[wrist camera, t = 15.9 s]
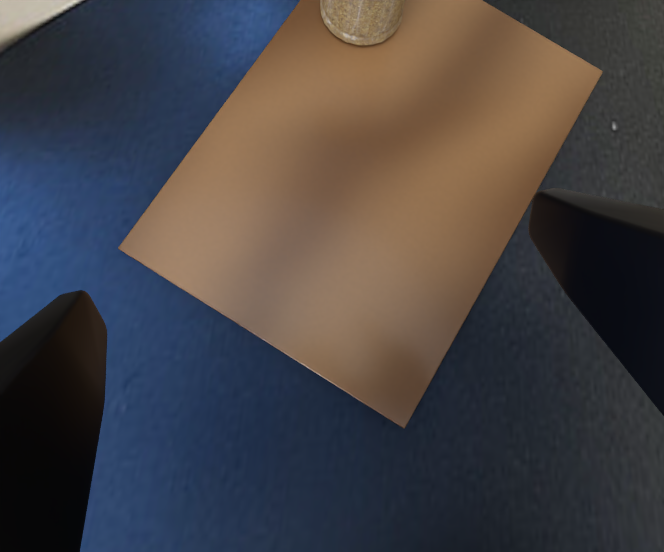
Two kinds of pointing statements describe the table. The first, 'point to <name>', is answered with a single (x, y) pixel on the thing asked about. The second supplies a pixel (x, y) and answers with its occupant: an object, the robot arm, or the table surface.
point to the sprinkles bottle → (362, 19)
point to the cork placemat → (367, 189)
